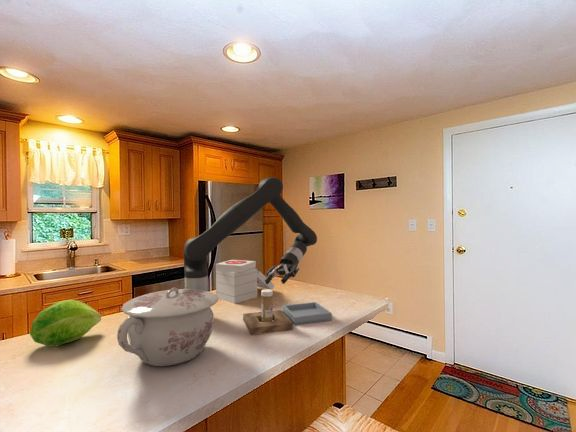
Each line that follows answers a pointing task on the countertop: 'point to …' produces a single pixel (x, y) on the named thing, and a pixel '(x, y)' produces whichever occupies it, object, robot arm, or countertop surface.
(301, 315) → the parts tray
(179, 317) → the chamber pot
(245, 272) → the pizza boxes
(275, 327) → the socket board
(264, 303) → the spice jar
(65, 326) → the green papaya
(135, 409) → the countertop surface
